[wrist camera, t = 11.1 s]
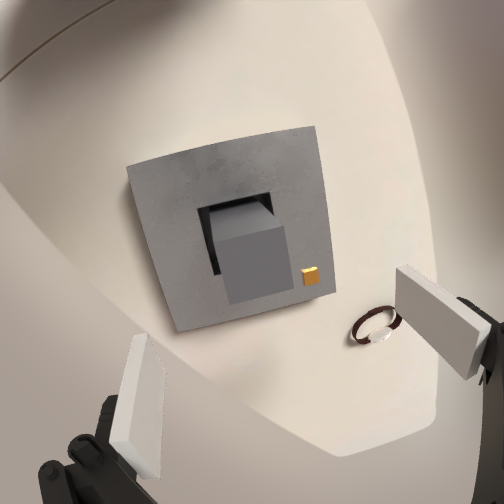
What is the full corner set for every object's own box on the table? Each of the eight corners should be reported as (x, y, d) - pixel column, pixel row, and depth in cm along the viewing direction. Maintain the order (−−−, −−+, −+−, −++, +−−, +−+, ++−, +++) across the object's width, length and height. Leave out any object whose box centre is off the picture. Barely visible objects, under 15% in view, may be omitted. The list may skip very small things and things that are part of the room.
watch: (352, 343, 43) (362, 357, 39) (346, 319, 41) (357, 333, 38) (396, 319, 43) (408, 332, 39) (392, 295, 41) (406, 307, 38)
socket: (134, 164, 30) (125, 167, 26) (301, 127, 31) (315, 125, 27) (179, 314, 36) (177, 333, 32) (323, 277, 38) (337, 293, 34)
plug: (208, 208, 33) (213, 242, 21) (254, 197, 33) (283, 225, 22) (219, 252, 34) (229, 305, 23) (263, 241, 35) (294, 288, 24)
